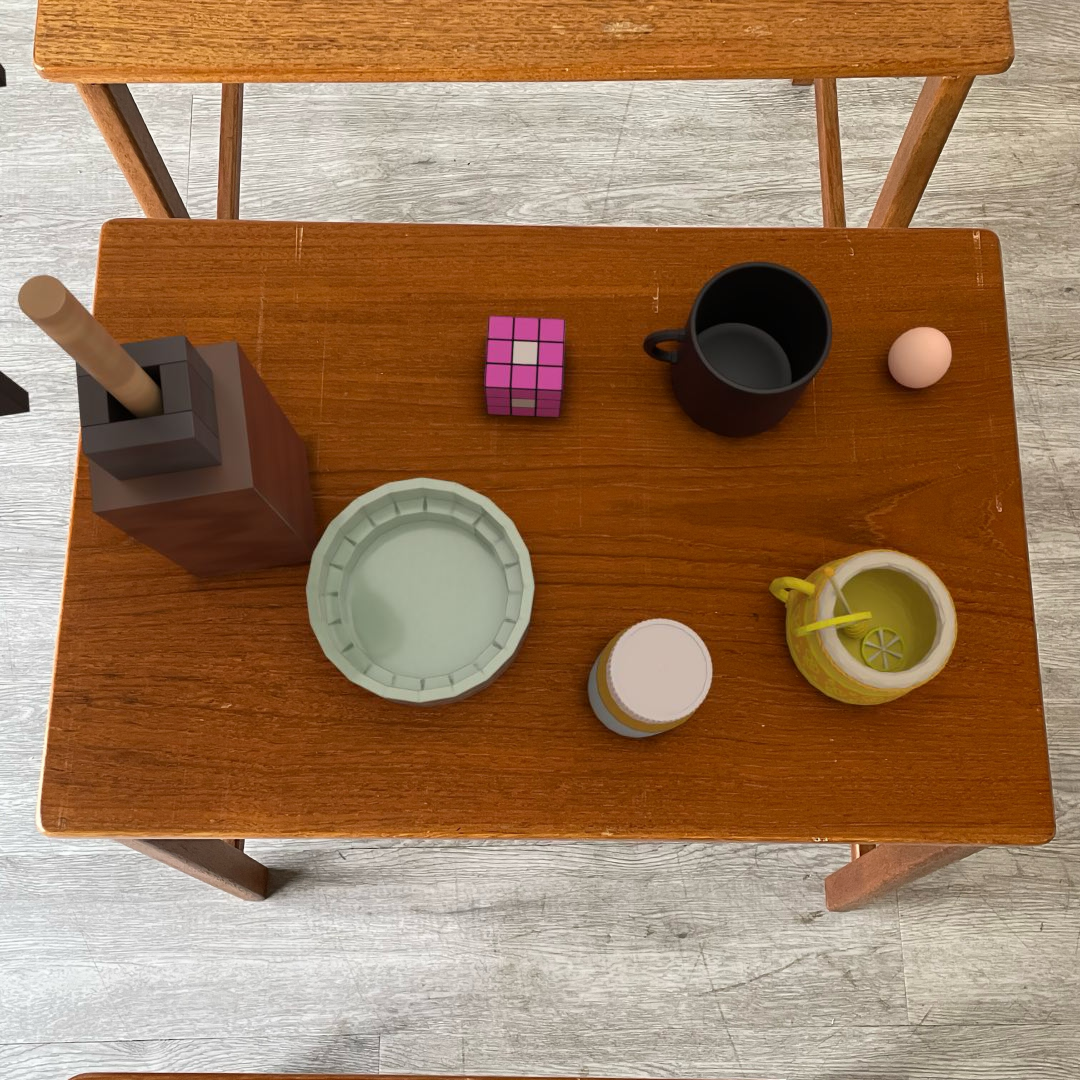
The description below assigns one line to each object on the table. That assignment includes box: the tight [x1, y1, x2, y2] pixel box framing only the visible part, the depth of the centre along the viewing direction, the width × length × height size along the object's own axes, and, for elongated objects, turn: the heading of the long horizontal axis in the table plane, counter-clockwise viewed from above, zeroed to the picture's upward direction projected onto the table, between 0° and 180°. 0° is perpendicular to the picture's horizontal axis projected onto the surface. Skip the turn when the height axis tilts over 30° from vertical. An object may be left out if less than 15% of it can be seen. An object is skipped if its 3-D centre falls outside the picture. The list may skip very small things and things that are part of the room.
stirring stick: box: [17, 274, 164, 419], centre depth 51 cm, size 2×2×16 cm
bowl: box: [305, 477, 536, 708], centre depth 74 cm, size 16×16×6 cm
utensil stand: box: [74, 334, 319, 579], centre depth 66 cm, size 9×9×25 cm
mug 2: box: [768, 548, 959, 706], centre depth 72 cm, size 13×11×12 cm
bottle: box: [587, 617, 714, 739], centre depth 69 cm, size 7×7×15 cm
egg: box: [887, 326, 953, 389], centre depth 79 cm, size 4×4×6 cm
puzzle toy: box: [483, 315, 566, 418], centre depth 79 cm, size 6×6×6 cm
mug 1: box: [642, 261, 834, 437], centre depth 77 cm, size 10×13×10 cm
